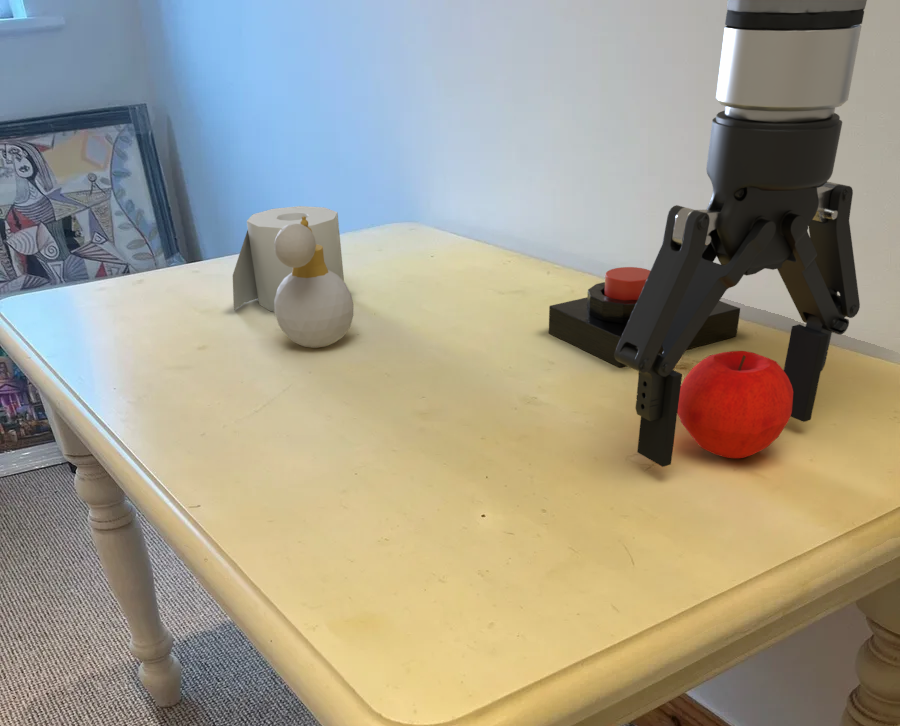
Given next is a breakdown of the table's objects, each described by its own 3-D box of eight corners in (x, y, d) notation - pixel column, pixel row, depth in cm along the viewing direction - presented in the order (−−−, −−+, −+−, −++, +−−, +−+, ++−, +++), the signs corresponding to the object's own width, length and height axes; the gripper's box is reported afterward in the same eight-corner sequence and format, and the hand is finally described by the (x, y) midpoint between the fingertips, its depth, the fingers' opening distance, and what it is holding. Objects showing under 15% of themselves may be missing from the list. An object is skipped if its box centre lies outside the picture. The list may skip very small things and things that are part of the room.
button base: (659, 306, 96) (664, 261, 94) (736, 336, 89) (743, 288, 86) (548, 333, 91) (549, 286, 88) (619, 367, 83) (623, 317, 80)
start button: (631, 286, 89) (633, 264, 88) (662, 297, 86) (664, 275, 85) (594, 294, 87) (595, 272, 86) (624, 306, 84) (626, 283, 83)
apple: (662, 467, 67) (673, 368, 63) (680, 423, 73) (691, 330, 69) (778, 483, 65) (798, 381, 60) (787, 436, 71) (805, 340, 66)
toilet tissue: (215, 313, 99) (200, 228, 94) (304, 281, 108) (295, 202, 103) (273, 329, 95) (261, 241, 90) (362, 294, 103) (355, 212, 98)
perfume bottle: (347, 326, 95) (335, 200, 88) (370, 358, 87) (359, 223, 80) (273, 336, 93) (255, 208, 86) (290, 369, 85) (272, 232, 78)
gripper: (869, 86, 64) (807, 383, 76) (571, 122, 54) (556, 457, 66) (968, 97, 58) (885, 414, 70) (658, 140, 48) (623, 501, 60)
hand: (726, 436), depth 68 cm, fingers open, 13 cm apart
